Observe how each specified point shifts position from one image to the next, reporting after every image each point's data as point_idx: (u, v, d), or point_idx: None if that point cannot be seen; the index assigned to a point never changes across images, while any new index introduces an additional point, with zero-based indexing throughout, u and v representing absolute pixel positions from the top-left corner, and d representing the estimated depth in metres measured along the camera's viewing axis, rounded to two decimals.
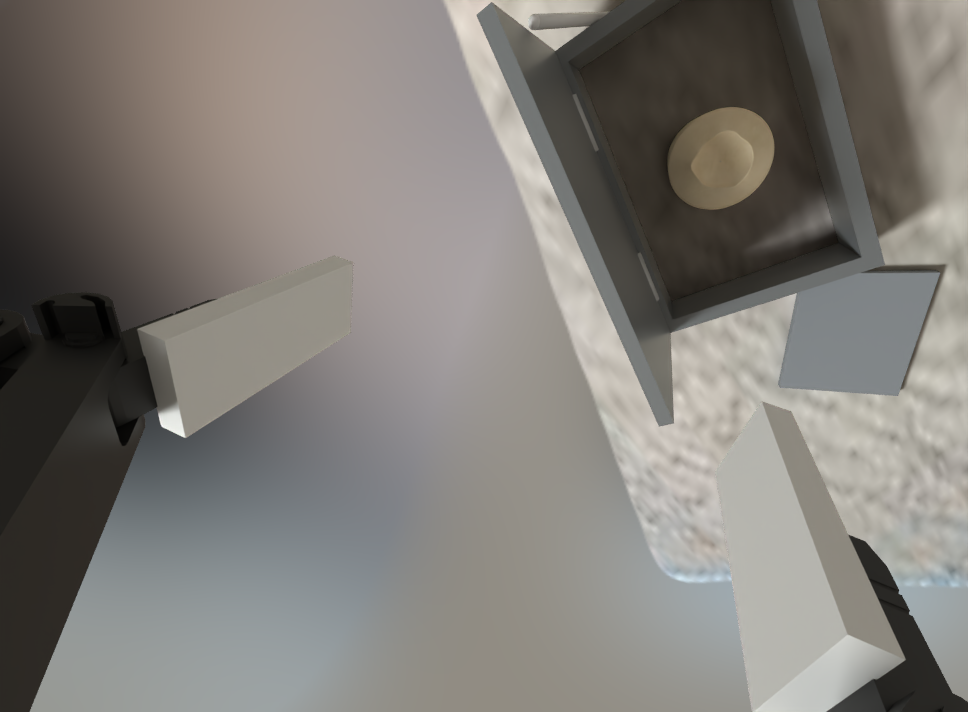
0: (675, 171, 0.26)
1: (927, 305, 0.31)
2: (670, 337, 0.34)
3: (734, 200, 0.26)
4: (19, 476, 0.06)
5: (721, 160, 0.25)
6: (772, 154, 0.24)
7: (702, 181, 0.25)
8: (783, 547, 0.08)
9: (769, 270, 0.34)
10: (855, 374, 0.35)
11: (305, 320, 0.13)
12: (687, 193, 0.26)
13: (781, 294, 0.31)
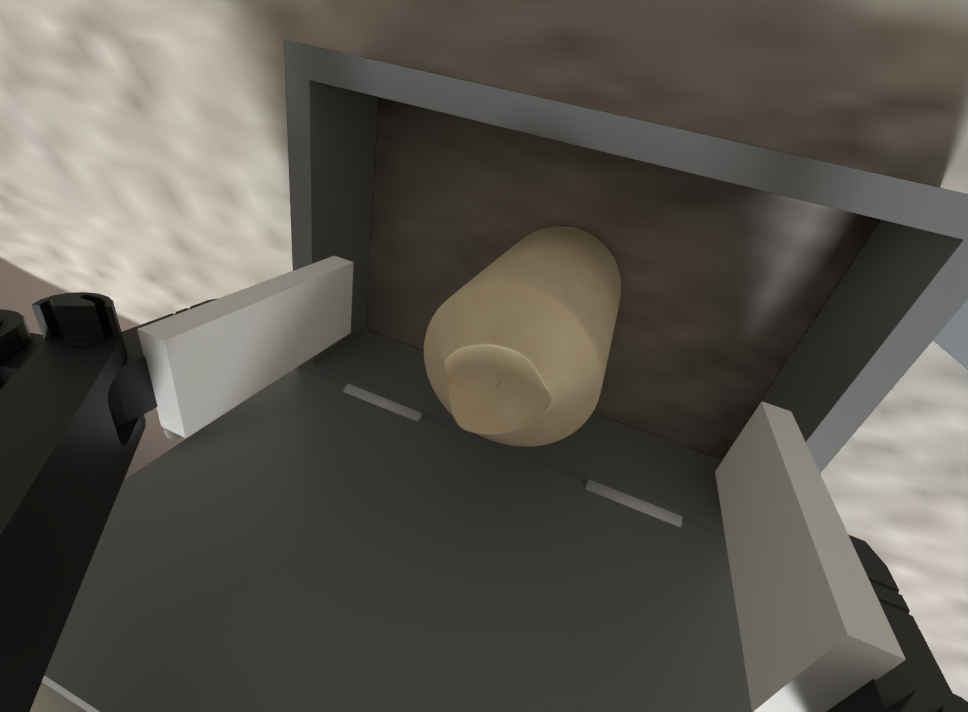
0: None
1: None
2: None
3: (587, 403, 0.12)
4: (19, 477, 0.06)
5: (500, 378, 0.12)
6: (560, 308, 0.11)
7: (504, 429, 0.12)
8: (783, 547, 0.08)
9: (814, 335, 0.17)
10: None
11: (305, 320, 0.13)
12: (515, 443, 0.13)
13: (875, 395, 0.13)
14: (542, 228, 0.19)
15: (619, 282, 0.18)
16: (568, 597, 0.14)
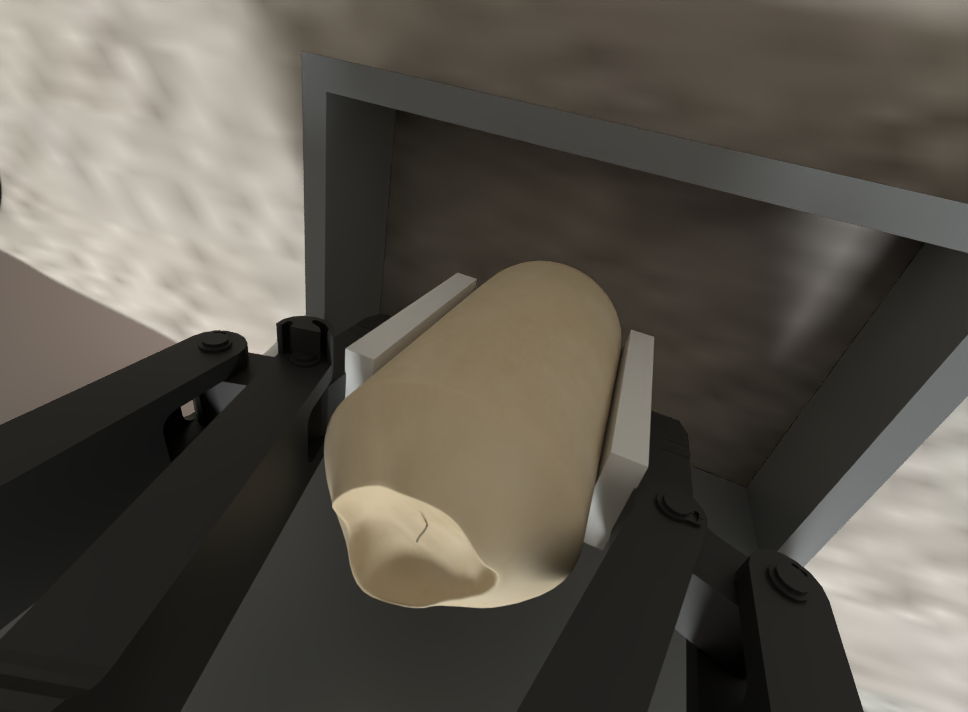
0: None
1: None
2: None
3: (560, 568, 0.08)
4: (224, 492, 0.06)
5: (426, 522, 0.08)
6: (514, 428, 0.07)
7: (433, 598, 0.08)
8: (609, 421, 0.11)
9: (850, 361, 0.16)
10: None
11: None
12: None
13: (921, 431, 0.12)
14: (518, 264, 0.14)
15: (618, 339, 0.13)
16: None
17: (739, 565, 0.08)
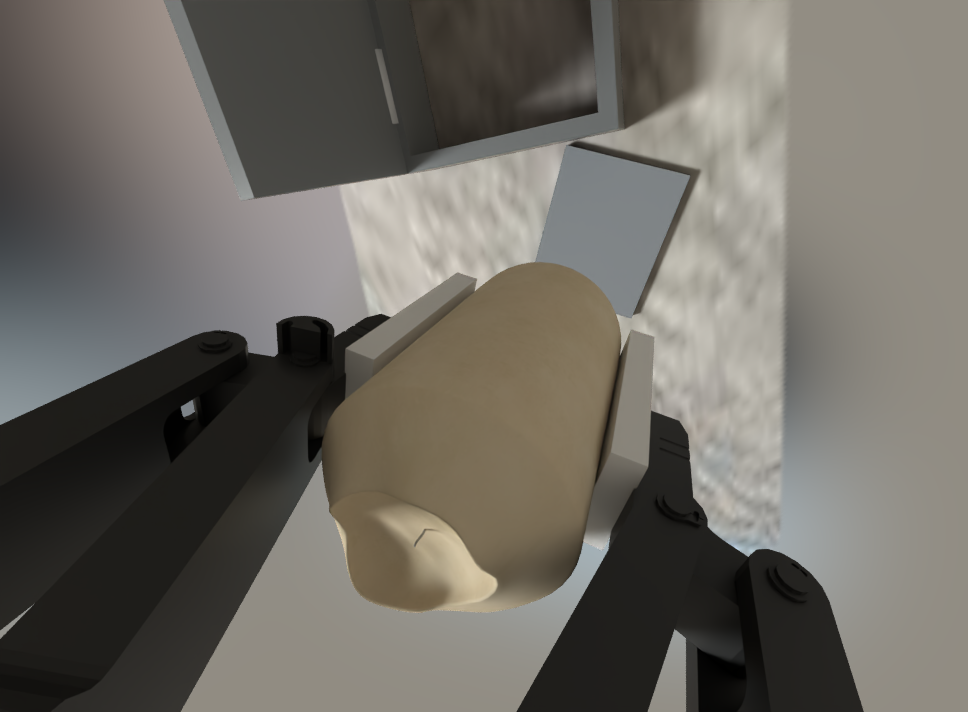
0: None
1: (672, 214, 0.28)
2: (399, 174, 0.28)
3: (558, 572, 0.08)
4: (224, 492, 0.06)
5: (424, 526, 0.08)
6: (512, 432, 0.07)
7: (431, 602, 0.08)
8: (609, 421, 0.11)
9: None
10: (597, 284, 0.32)
11: None
12: None
13: (517, 145, 0.26)
14: (517, 265, 0.14)
15: (617, 340, 0.13)
16: (319, 35, 0.22)
17: (739, 565, 0.08)
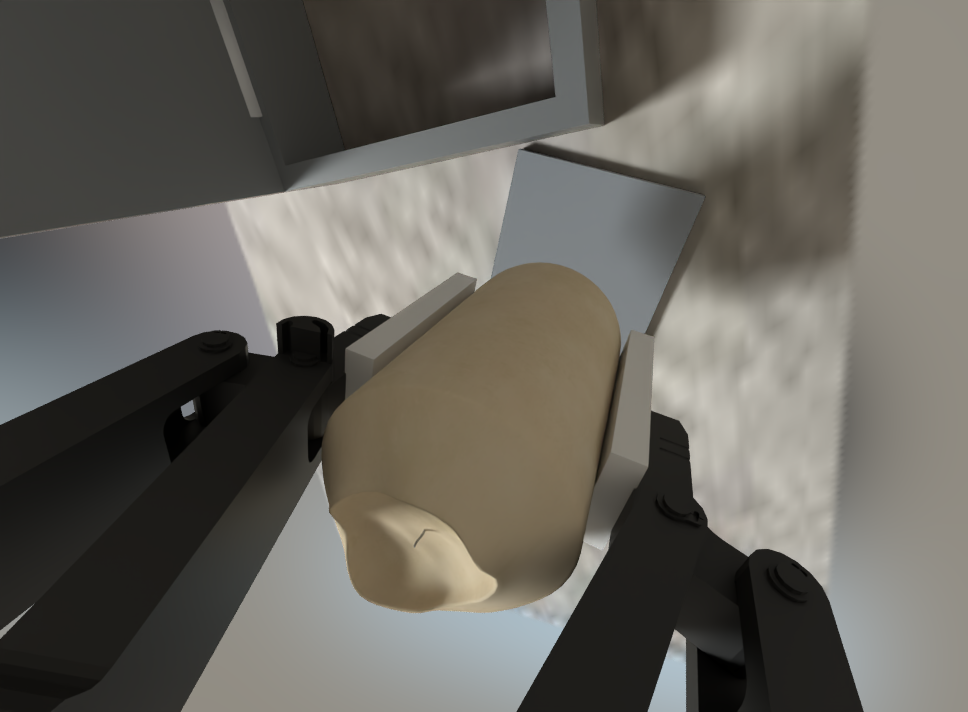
0: None
1: (677, 254, 0.19)
2: (267, 193, 0.19)
3: (558, 573, 0.08)
4: (224, 492, 0.06)
5: (424, 527, 0.08)
6: (512, 433, 0.07)
7: (431, 602, 0.08)
8: (609, 421, 0.11)
9: None
10: None
11: None
12: None
13: (434, 151, 0.16)
14: None
15: (617, 341, 0.13)
16: None
17: (739, 565, 0.08)
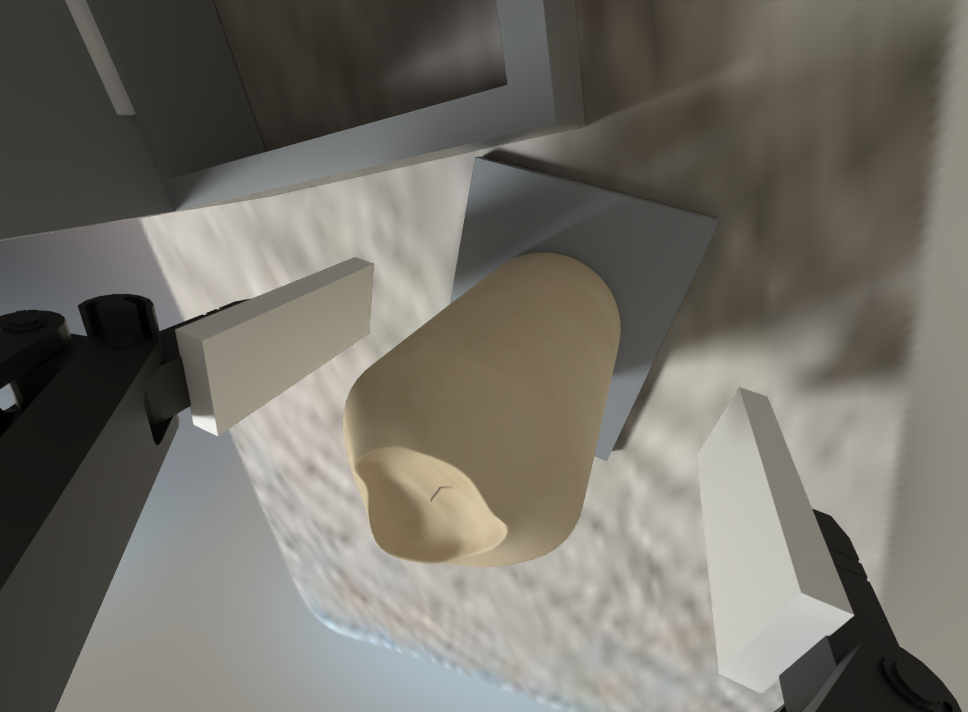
0: None
1: (682, 294, 0.14)
2: (144, 215, 0.14)
3: (562, 524, 0.08)
4: (57, 475, 0.06)
5: (439, 484, 0.09)
6: (520, 393, 0.08)
7: (445, 554, 0.09)
8: (751, 520, 0.09)
9: None
10: None
11: (329, 321, 0.13)
12: (466, 564, 0.10)
13: (350, 161, 0.12)
14: (521, 255, 0.15)
15: (617, 325, 0.14)
16: None
17: None
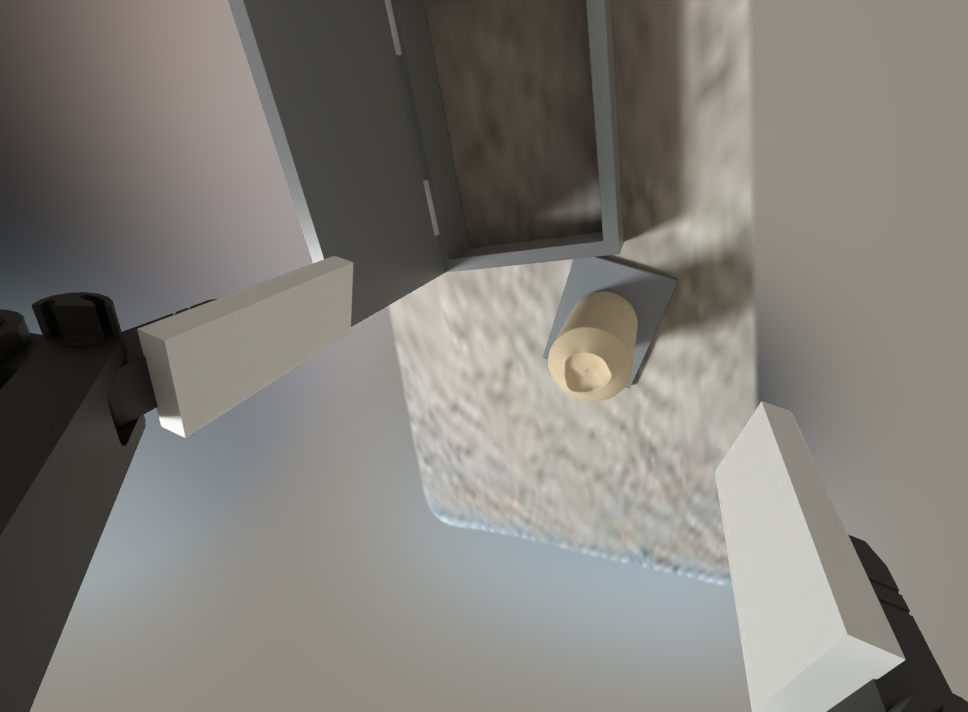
0: (569, 393, 0.30)
1: (663, 310, 0.34)
2: (439, 275, 0.34)
3: (625, 378, 0.28)
4: (19, 477, 0.06)
5: (587, 368, 0.28)
6: (615, 338, 0.27)
7: (588, 390, 0.28)
8: (783, 547, 0.08)
9: (549, 239, 0.35)
10: None
11: (305, 320, 0.13)
12: (591, 398, 0.29)
13: (537, 259, 0.32)
14: (594, 292, 0.35)
15: (636, 322, 0.34)
16: (387, 188, 0.28)
17: None
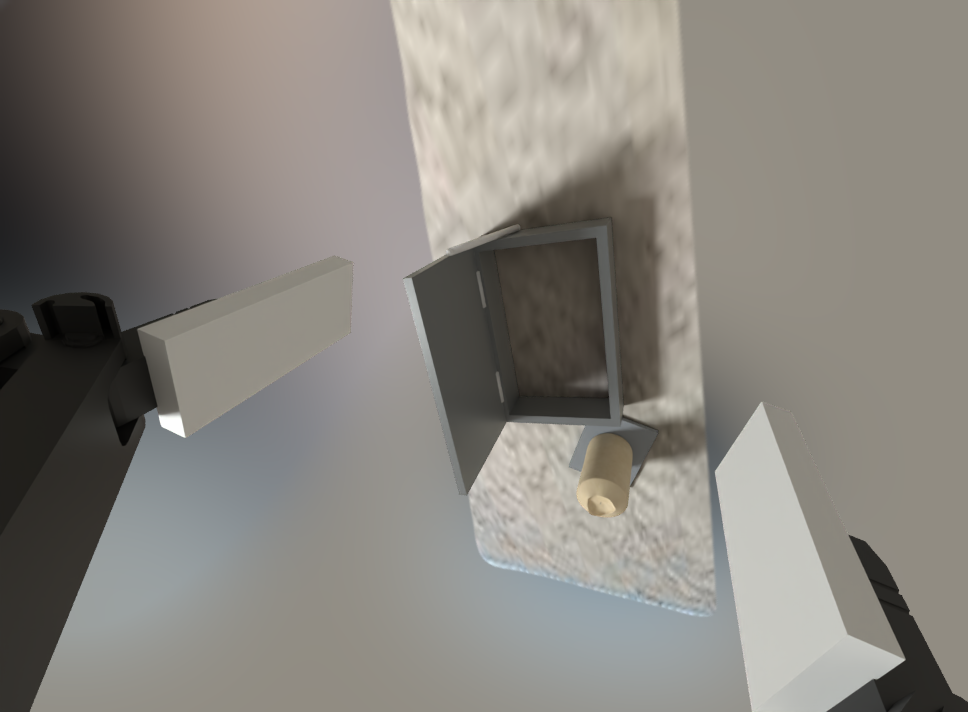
0: None
1: (649, 448, 0.52)
2: None
3: (624, 508, 0.47)
4: (19, 477, 0.06)
5: (601, 501, 0.47)
6: (617, 486, 0.46)
7: (601, 514, 0.47)
8: (783, 547, 0.08)
9: (574, 400, 0.53)
10: None
11: (305, 320, 0.13)
12: None
13: (569, 423, 0.50)
14: (604, 434, 0.53)
15: (631, 456, 0.52)
16: (480, 396, 0.46)
17: None
